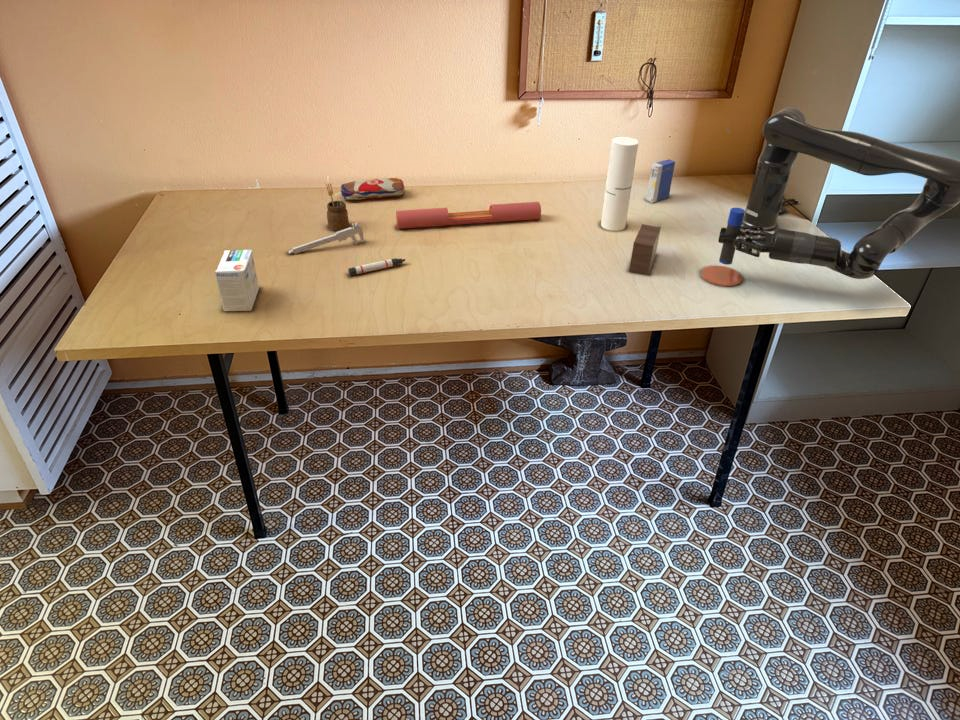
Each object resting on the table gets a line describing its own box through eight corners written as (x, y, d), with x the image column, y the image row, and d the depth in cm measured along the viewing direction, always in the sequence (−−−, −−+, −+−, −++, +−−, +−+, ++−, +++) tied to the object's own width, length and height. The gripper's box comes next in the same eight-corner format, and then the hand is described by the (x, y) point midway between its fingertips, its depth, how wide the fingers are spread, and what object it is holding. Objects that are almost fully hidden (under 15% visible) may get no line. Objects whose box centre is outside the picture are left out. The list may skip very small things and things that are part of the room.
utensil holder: (335, 233, 198) (331, 193, 191) (323, 225, 202) (318, 186, 195) (353, 227, 201) (349, 187, 194) (341, 220, 205) (337, 180, 198)
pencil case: (402, 204, 215) (401, 189, 212) (338, 203, 215) (336, 187, 212) (405, 190, 224) (405, 175, 221) (344, 188, 224) (342, 173, 221)
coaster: (703, 264, 187) (704, 262, 187) (742, 271, 185) (743, 269, 184) (699, 281, 180) (699, 279, 179) (739, 289, 177) (740, 287, 177)
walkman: (662, 194, 225) (668, 157, 218) (668, 197, 224) (675, 160, 216) (645, 200, 221) (651, 162, 214) (652, 202, 220) (658, 165, 213)
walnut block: (637, 251, 193) (642, 223, 188) (655, 255, 191) (660, 227, 186) (629, 271, 184) (633, 242, 179) (648, 275, 182) (653, 246, 177)
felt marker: (697, 228, 179) (739, 201, 172) (724, 264, 182) (768, 239, 174) (695, 233, 177) (738, 206, 169) (723, 270, 179) (767, 245, 172)
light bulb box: (232, 288, 172) (223, 249, 166) (260, 288, 173) (252, 248, 167) (223, 312, 164) (213, 271, 157) (252, 311, 164) (244, 270, 158)
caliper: (363, 241, 195) (361, 220, 191) (364, 243, 194) (362, 222, 190) (288, 253, 188) (285, 231, 184) (289, 255, 187) (285, 233, 184)
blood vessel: (536, 214, 211) (537, 198, 208) (540, 221, 207) (541, 205, 204) (396, 224, 204) (395, 208, 201) (398, 231, 200) (397, 215, 197)
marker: (351, 277, 178) (350, 270, 177) (348, 273, 180) (347, 266, 178) (407, 264, 184) (406, 258, 183) (404, 261, 186) (403, 254, 184)
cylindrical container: (624, 231, 203) (638, 146, 188) (600, 229, 204) (611, 143, 189) (625, 221, 208) (638, 137, 194) (601, 219, 209) (612, 135, 195)
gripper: (787, 273, 168) (713, 260, 173) (788, 248, 179) (718, 236, 184) (796, 244, 164) (720, 232, 169) (796, 220, 175) (725, 209, 179)
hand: (720, 234), depth 176 cm, fingers closed on felt marker, 3 cm apart
